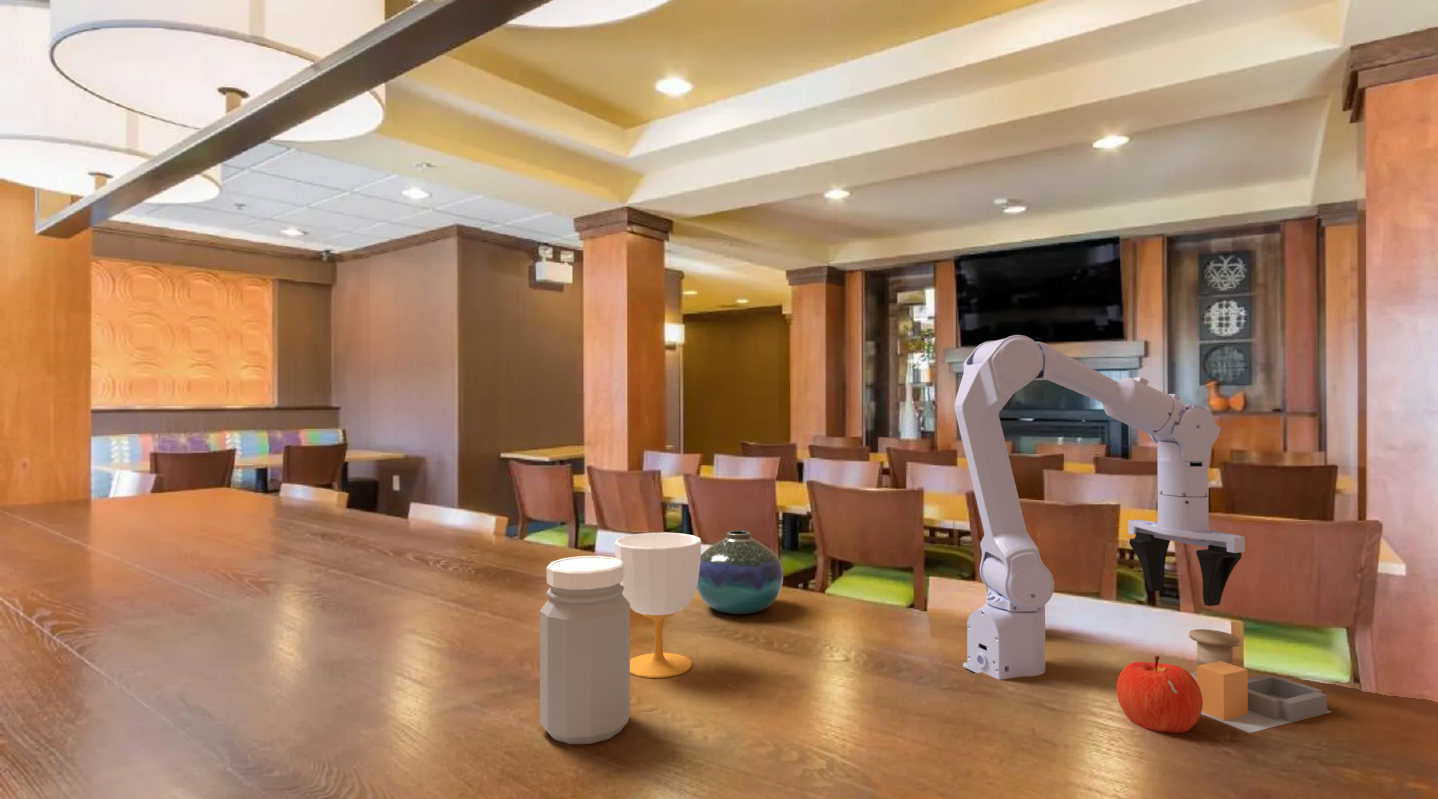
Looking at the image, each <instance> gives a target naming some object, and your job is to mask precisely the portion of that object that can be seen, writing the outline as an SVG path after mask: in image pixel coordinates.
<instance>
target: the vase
mask: <svg viewBox="0 0 1438 799" xmlns="http://www.w3.org/2000/svg"><path fill="white" fill-rule="evenodd" d="M783 582H784V569H783V565H782V562H781V560H780V558H779V557H778V555H777V554H776V553H775V552H774V551H773V550H772V549H770V548H769V547H768V546H766V545H765V544H763V543H761V542H760V541H758V540H756V539H755V538H753V537H752V536H751V532H750V531H747V530H731V531H727V533H726V537H725V538H723V539H722V540H720V541H718V542H716V543H714V544H713V545H711V546H710V547H708V548H707V549H706V550H704V551H703V552H701V560H700V569H699V578H698V584H697V587H696V591H697V592H698V595H699V596H700V598H701V599H702V600H703V602H704V603H705V604H706V605H708V607H710V608H711V609H714V610H715V611H718V612H720V613H724V614H730V615H748V614H755V613H759V612H761V611H763V610H765V609H766V608H768V607H770V606H771V605H772V604H773V603H774V602H775V600H776V599H777V598H778V596H779V594H780V592H781V590H782V588H783V587H782V586H783Z"/></svg>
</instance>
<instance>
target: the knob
mask: <svg viewBox="0 0 1438 799" xmlns="http://www.w3.org/2000/svg"><path fill="white" fill-rule="evenodd" d="M1188 634H1189V636H1188V637H1189V638H1190V639H1191V640H1192V641H1194V642H1196V650H1197V651H1196V652H1197V654H1196V657H1197V658H1196V661H1197V663H1196V664H1197V665H1202V664H1207V663H1212V662H1217V661H1222V662H1225V663H1229V664H1232V665H1234V662H1233V661H1234V659H1233V656H1234V654H1233V651H1234V650H1233V648H1234V647H1235V648H1236V647H1239V646H1241V643H1242V640H1241V638H1240V637H1239V636H1237V635H1234V634H1232V633H1229V632H1225V631H1221V630H1215V629H1205V628H1204V629H1202V628H1201V629H1199V628H1198V629H1191V630H1189V632H1188ZM1197 665H1196V666H1197ZM1190 673H1191V675H1192V677H1193V678H1194V679H1195V680H1196V682H1197V673H1194V672H1190Z"/></svg>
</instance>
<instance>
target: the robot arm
mask: <svg viewBox="0 0 1438 799" xmlns="http://www.w3.org/2000/svg"><path fill="white" fill-rule="evenodd" d="M1041 380H1044V381H1049V382H1052V383H1054V384H1057V385H1059V386H1061V387H1063V388H1066V389H1069V390H1070V391H1073V392H1076V393H1078V394H1081V395H1083V396H1086V397H1088V398H1090V399H1093V400H1095V401H1097V402H1099V403H1101V405H1102V408H1103V410H1104V413H1105V414H1106V415H1107V416H1108V417H1110V418H1112V419H1115V420H1117V421H1119V422H1120V423H1123V424H1126V425H1127V426H1129V427H1132V428H1134V429H1136V430H1138V431H1140V432H1142V433H1144V434H1146V435H1148V437H1149V438H1150V439H1151V441H1152V442H1153V443H1154V444H1156V445H1157V521H1151V520H1143V519H1129V520H1128V521H1127V522H1128V524H1127V526H1128V528H1127V530H1128V532H1127V533H1128V534H1129V535H1134V538H1130V539H1129V541H1128V542H1129V546H1130V547H1131V548H1132V549H1133V551H1134V552H1133V553H1135V555H1136V557H1137V559H1138V561H1139V564H1140V566H1141V569H1142V572H1143V574H1144V577H1145V581H1146V585H1147V588H1148V591H1149V592H1154V593H1155V592H1161V591H1164V588H1165V579H1166V578H1165V568H1166V567H1165V566H1166V557H1167V554H1168V551H1169V545H1170V542H1171V541H1172V542H1178V543H1183V544H1189V545H1195V546H1200V547H1205V548H1206V549H1197V550H1196V556H1197V559H1198V562H1199V565H1200V566H1199V567H1200V571H1201V577H1202V599H1203V600H1202V601H1203V605H1204V606H1206V607H1207V606H1208V607H1213V606H1219V605H1221V604H1220V603H1221V600H1222V596H1223V593H1224V590H1225V587H1226V584H1227V582H1228V579H1229V578H1230V575H1231V573H1232V571H1233V570H1234V569H1235V567H1236V565H1237V564H1238V563H1239V561H1240V560H1241V559H1242V556H1243V554H1242V553H1245V551H1246V544H1245V543H1246V542H1245V541H1246V539H1245V537H1246V536H1244V535H1238V534H1232V533H1229V532H1224V531H1220V530H1214V529H1211V528H1210V525H1209V519H1210V518H1209V513H1210V512H1209V494H1210V493H1209V483H1210V482H1209V478H1210V477H1209V458H1211V455H1212V451H1211V450H1212V446H1213V445H1214V443H1215V442H1216V441H1217V439H1218V437H1219V436H1220V431H1221V425H1218V424H1217V423H1216V420H1215V418H1214V416H1213V414H1212V413H1211V411H1210V410H1209V409H1208V408H1207V407H1204V406H1202V405H1200V404H1199V405H1198V404H1184V402H1182V400H1181V396H1179V395H1178V394H1175V393H1169V394H1167V393H1165V392H1163V391H1161V390H1158V389H1157V388H1154V387H1152V386H1150V385H1148V384H1149V380H1148V379H1146V378H1145V377H1141V376H1139V377H1138V376H1137V377H1134V378H1132V377H1130V376H1129V377H1124V378H1121V379H1119V380H1115V379H1113V378H1111V377H1109V376H1106V375H1105V374H1103V373H1101V372H1100V371H1098V370H1095V369H1094V368H1092V367H1090V366H1088V365H1086V364H1084V363H1082V362H1080V361H1078V360H1076V359H1075V358H1072V357H1071V356H1069V355H1067V354H1065V353H1062V352H1061V351H1059V350H1057V349H1056V348H1054V347H1052V346H1051V345H1049V343H1045V342H1041V341H1035V340H1034V339H1032V338H1030V337H1028V336H1026V335H1021V334H1013V335H1010V336H1008V337H1006V338H1001V339H997V340H987V341H985V342H982V343H980V344H979V345H978V346H976V348H974V349H973V351H972V352H971V353H970V354H969V356H968V357H967V358H966V359H965V361H964V362H963V375H962V378H961V380H960V385H959V387H958V392H957V394H956V398H955V400H954V413H955V416H956V421H957V424H958V428H959V433H960V437H961V441H962V442H961V443H962V445H963V450H964V454H965V458H966V462H967V468H968V471H969V474H970V479H971V483H972V487H973V490H974V492H973V493H974V496H975V500H976V505H977V508H978V512H979V517H980V520H981V524H982V528H983V534H984V535H983V537H982V539H981V540H980V543H979V544H980V545H979V546H980V550H981V561H980V565H979V575H980V579H981V581H982V582H983V584H984V585H985V587H986V586H987V587H988V593H987V592H986V597H985V598H986V599H985V600H986V602H985V603H984V604H983V605H982V607H979V608H977V609H974V610H973V611H971V613H970V614H969V616H968V618H967V622H966V655H967V656H966V657H967V658H966V659H967V660H966V661H967V662H963V664H962V667H964V668H965V669H966V670H967V669H968V670H969V671H970V672H974V673H975V674H979V673H984V674H986V675H987V676H990V677H992V678H995V679H997V680H998V681H1002V680H1008V679H1015V678H1021V677H1037V676H1041V675H1042V674H1045V672H1046V605H1047V603H1048V602H1049V601H1050V600H1051V598H1052V596H1053V594H1054V590H1055V580H1054V577H1053V574H1052V573H1051V571H1050V569H1049V568H1048V566H1046V565H1045V564H1044V562H1043V560H1042V557H1041V555H1040V549H1039V548H1038V547H1037V545H1036V543H1035V542H1034V540H1033V539H1032V537H1031V535H1030V534H1029V533H1028V531H1027V527H1026V523H1025V519H1024V514H1023V509H1022V506H1021V501H1020V498H1019V494H1018V490H1017V485H1016V481H1015V477H1014V474H1013V469H1012V465H1011V460H1010V457H1009V452H1008V448H1007V443H1006V440H1005V436H1004V431H1003V427H1002V423H1001V419H1000V412H1001V411H1002V409H1003V408H1004V406H1006V404H1007V403H1008V402H1009V401H1010V399H1011V397H1012V396H1013V395H1014V394H1016V392H1018V391H1019V390H1021V389H1022V388H1024V387H1025V386H1027V385H1028V384H1030V383H1031V382H1033V381H1041Z"/></svg>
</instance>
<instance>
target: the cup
mask: <svg viewBox="0 0 1438 799" xmlns="http://www.w3.org/2000/svg"><path fill="white" fill-rule="evenodd" d="M614 548H615V549H614V550H615V558H616V559H618V560H621V561H622V562H624V578H623V580H622V582H621V583H620V585H622V586H624V590H623V593H622V594H623V595H624V597H625V598H626V599H627V600H628V602H629V603H630V610H632V611H633V612H635V613H637V614H639V615H641V616H643V617H646V618H649V619H652V620H653V623H654V624H653V625H654V652H653V653H645V654H640V655H637V656H635V657H632V658H630V675H634V676H636V677H639V678H647V679H666V678H672V677H677V676H680V675H682V674H685V673H687V672H688V671H689V670H690V669H691V668H692V667H693V666H692V661H691V660H690V659H689V658H687V656H684V655H681V654H678V653H670V652H664V651H663V624H664V623H663V622H664V620H665V619H667V618H669V617H672V616H674V615H676V614H678V613H680V612H682V611H683V610H685V609H686V608H687V606H689V605H690V603H691V602H692V599H694V596H695V594H696V591H697V588H696V587H697V584H698V578H699V569H700V560H701V554H702V540H701V537H698V536H696V535H692V534H688V533H680V532H645V533H636V534H635V533H634V534H630V535H625V536H622V537H619V538H616V540H615V542H614Z"/></svg>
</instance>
